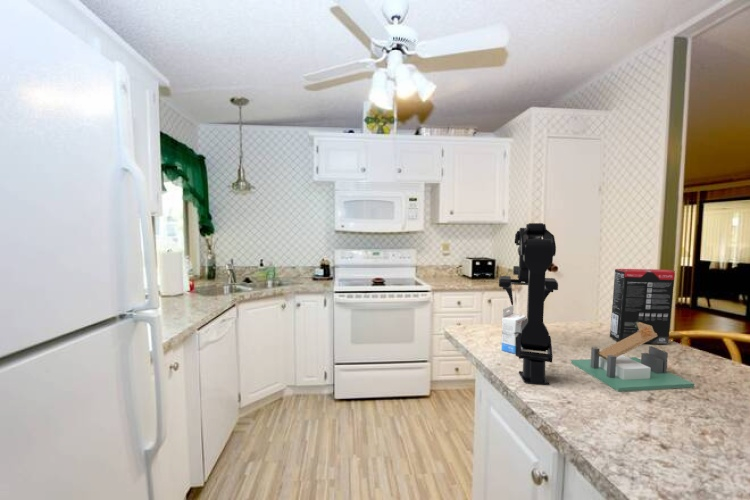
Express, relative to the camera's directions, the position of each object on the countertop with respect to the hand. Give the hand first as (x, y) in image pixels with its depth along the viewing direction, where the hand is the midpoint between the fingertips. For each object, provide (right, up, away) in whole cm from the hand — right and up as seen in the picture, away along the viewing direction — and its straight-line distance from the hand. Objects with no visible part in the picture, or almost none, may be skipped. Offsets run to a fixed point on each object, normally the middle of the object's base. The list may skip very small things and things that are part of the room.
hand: (526, 305), depth 119 cm
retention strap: (+19, -8, -23) cm, 31 cm away
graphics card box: (+44, -14, +5) cm, 47 cm away
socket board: (+20, -16, -22) cm, 34 cm away
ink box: (-5, -15, -2) cm, 16 cm away
